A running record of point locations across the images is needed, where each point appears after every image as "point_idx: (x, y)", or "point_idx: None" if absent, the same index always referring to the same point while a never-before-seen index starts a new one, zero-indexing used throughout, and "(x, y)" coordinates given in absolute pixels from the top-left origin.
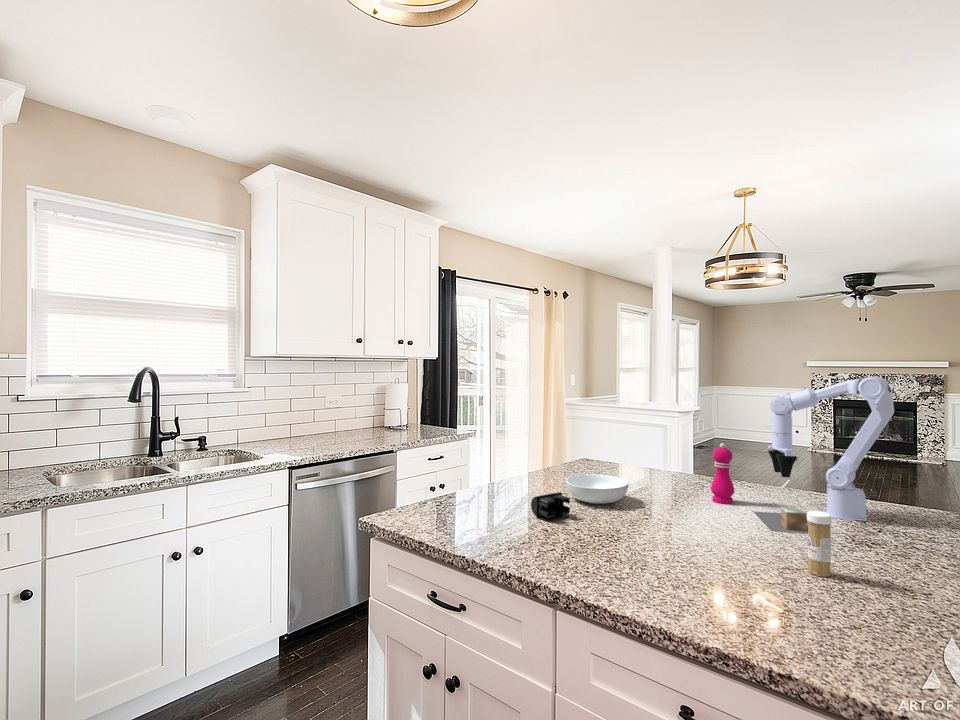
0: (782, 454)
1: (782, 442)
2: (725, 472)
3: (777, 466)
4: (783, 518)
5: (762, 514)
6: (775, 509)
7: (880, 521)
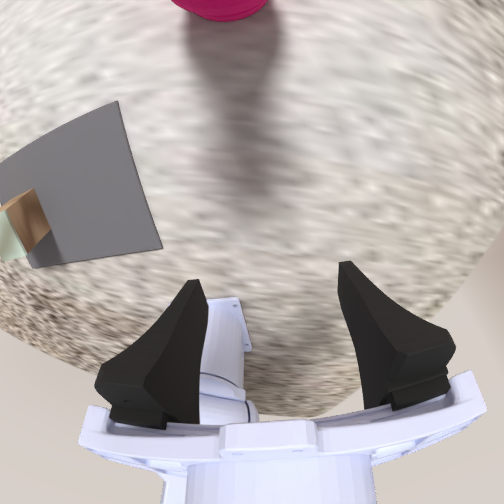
0: (369, 392)
1: None
2: None
3: (348, 298)
4: (10, 202)
5: (93, 134)
6: (204, 173)
7: None
